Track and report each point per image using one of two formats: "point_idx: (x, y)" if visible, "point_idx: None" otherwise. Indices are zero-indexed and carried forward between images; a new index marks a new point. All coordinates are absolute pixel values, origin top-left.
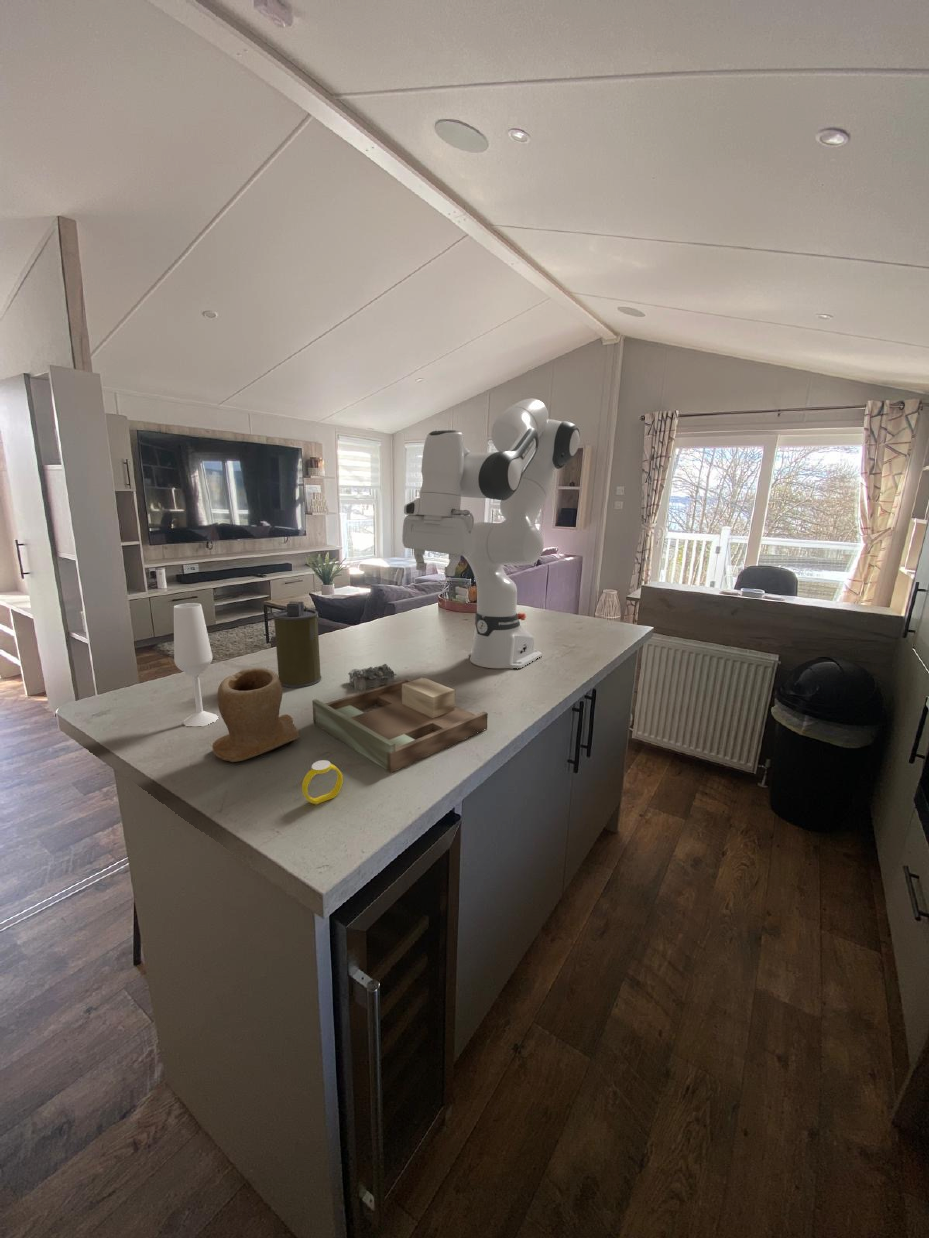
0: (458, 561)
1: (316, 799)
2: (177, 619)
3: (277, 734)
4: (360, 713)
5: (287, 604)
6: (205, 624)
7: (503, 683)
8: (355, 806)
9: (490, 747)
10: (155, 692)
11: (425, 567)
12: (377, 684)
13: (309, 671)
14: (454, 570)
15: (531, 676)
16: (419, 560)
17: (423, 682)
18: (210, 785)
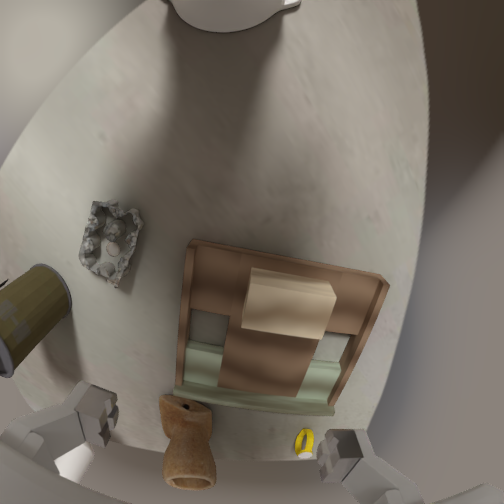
0: (406, 484)
1: (300, 436)
2: None
3: (205, 428)
4: (219, 358)
5: None
6: (66, 471)
7: (317, 84)
8: (329, 426)
9: (399, 310)
10: (25, 377)
11: (108, 405)
12: (134, 249)
13: (59, 309)
14: (368, 448)
15: (340, 26)
16: (73, 439)
17: (268, 302)
18: (218, 451)
